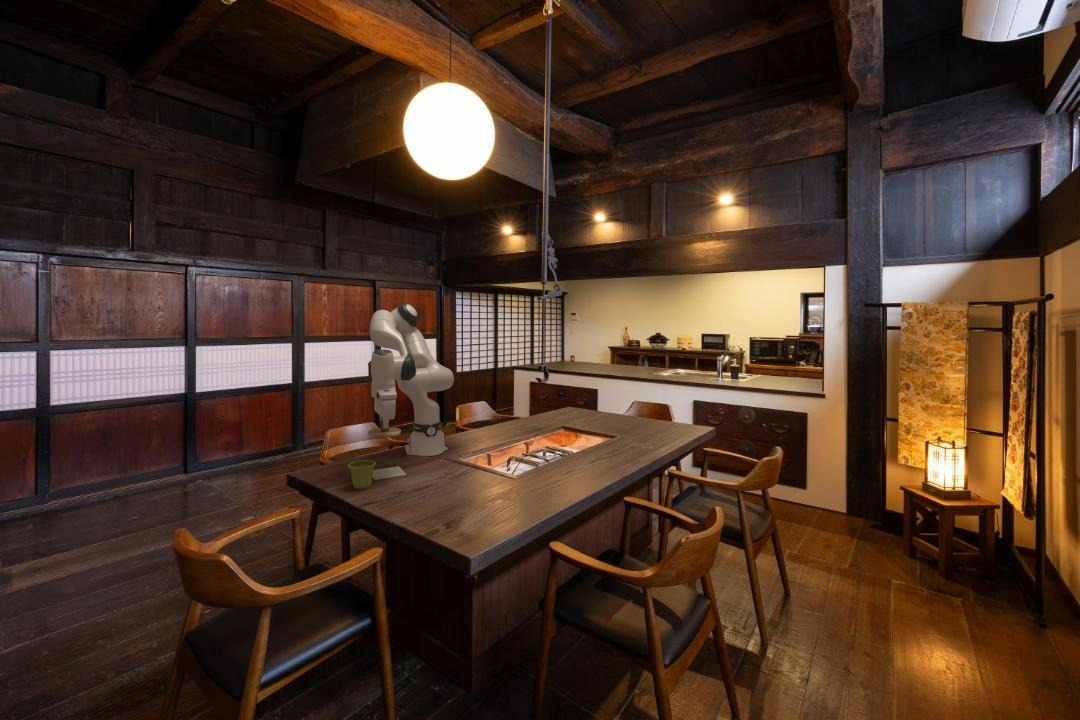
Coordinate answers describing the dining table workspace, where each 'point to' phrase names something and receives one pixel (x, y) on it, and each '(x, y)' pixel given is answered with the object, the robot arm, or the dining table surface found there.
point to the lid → (384, 432)
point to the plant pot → (362, 473)
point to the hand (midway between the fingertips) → (384, 426)
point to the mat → (387, 473)
